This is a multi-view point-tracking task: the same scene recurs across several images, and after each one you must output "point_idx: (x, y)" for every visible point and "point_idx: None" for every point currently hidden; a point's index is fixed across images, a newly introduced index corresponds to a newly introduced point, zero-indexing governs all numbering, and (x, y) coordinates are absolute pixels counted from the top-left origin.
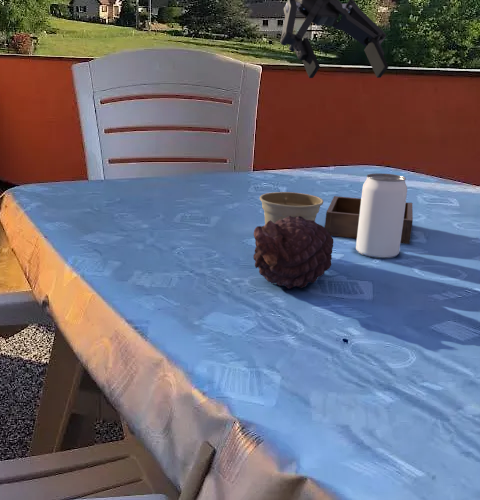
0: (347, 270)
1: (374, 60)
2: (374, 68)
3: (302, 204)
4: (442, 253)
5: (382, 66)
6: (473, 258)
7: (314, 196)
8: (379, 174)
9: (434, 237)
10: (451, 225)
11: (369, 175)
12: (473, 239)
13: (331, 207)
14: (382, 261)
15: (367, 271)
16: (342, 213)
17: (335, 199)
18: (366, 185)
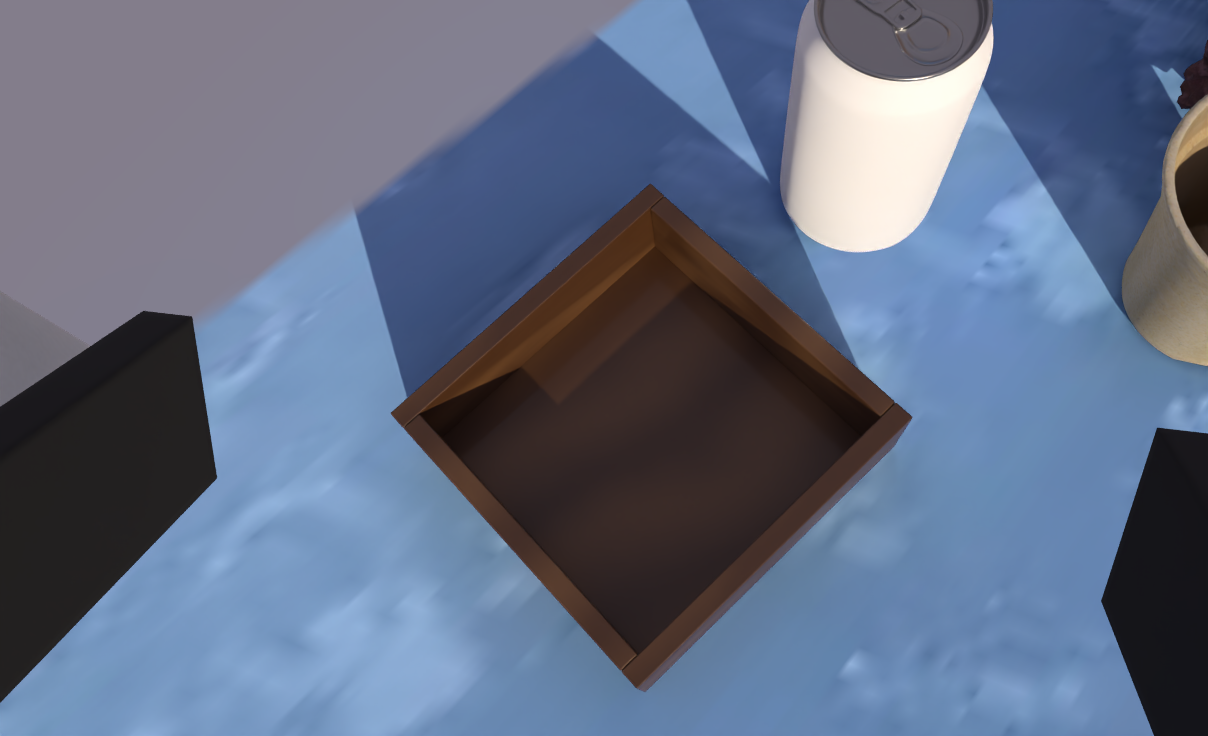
0: (1087, 82)
1: (82, 523)
2: (149, 519)
3: (1186, 265)
4: (634, 115)
5: (178, 359)
6: (584, 47)
7: (1175, 195)
8: (874, 73)
9: (488, 265)
10: (268, 369)
11: (939, 71)
12: (379, 198)
13: (828, 480)
14: None
15: (1027, 56)
16: (855, 370)
17: (689, 615)
18: (989, 47)
